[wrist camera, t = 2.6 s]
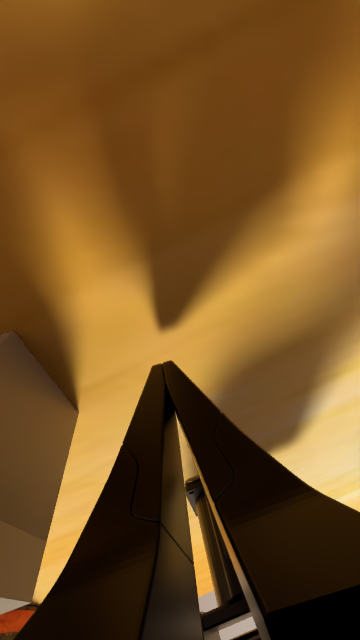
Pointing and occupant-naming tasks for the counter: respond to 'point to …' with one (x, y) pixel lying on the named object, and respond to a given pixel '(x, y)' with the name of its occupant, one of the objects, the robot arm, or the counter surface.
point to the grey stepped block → (28, 466)
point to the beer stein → (14, 621)
